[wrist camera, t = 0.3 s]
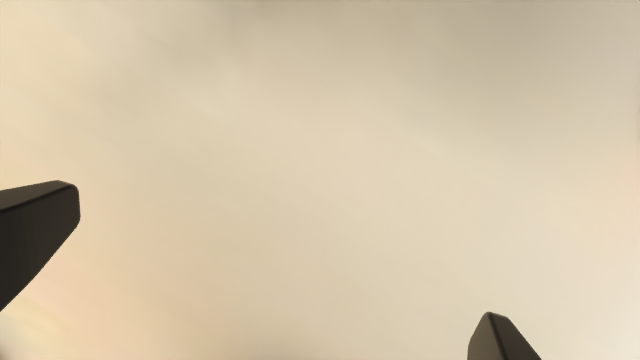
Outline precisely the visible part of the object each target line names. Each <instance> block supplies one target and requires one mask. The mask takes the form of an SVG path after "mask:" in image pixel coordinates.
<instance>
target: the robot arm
mask: <svg viewBox="0 0 640 360" xmlns="http://www.w3.org/2000/svg"><path fill="white" fill-rule="evenodd" d="M79 221H80V203H79V191H78V189H77V187H76V186H75V185H73V184H70V183H67V182H63V181H59V180H55V181H49V182H44V183H39V184H33V185H28V186H23V187H17V188H12V189H6V190H1V191H0V312H1V311H2V310H3V309H4V308H5V307H6V306H7V305H8V304H9V303H10V302H11V301H12V300H13V299H14V298H15V297H16V296H17V295H18V294H19V293H20V292H21V291H22V290H23V289H24V288H25V287H26V286H27V285H28V284H29V283H30V282H31V281H32V280H33V278H34V277H35V276H36V275H37V274H38V273H39V272H40V270H41V269H42V268H43V267H44V266H45V264H46V263H47V262H48V261H49V260H50V258H51V257H52V256H53V255H54V254H55V252H56V251H57V250H58V249H59V248H60V246H61V245H62V244H63V243H64V242H65V240H66V239H67V238H68V237H69V236H70V234H71V233H72V232H73V231H74V230H75V228H76V227H77V225H78V224H79ZM467 360H542V359H541V358H540V357H539V356H538V354H537V353H536V352H535V351H534V349H533V348H532V347H531V346H530V344H529V343H528V342H527V341H526V339H525V338H524V337H523V336H522V334H521V333H520V332H519V331H518V329H517V328H516V327H515V326H514V324H513V323H512V322H511V321H510V320H509V319H508V318H507V317H505V316H502V315H499V314H495V313H492V312H486V313H485V314H484V315H483V316H482V318H481V320H480V322H479V324H478V326H477V328H476V330H475V331H474V333H473V335H472V337H471V339H470V342H469V346H468V357H467Z"/></svg>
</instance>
